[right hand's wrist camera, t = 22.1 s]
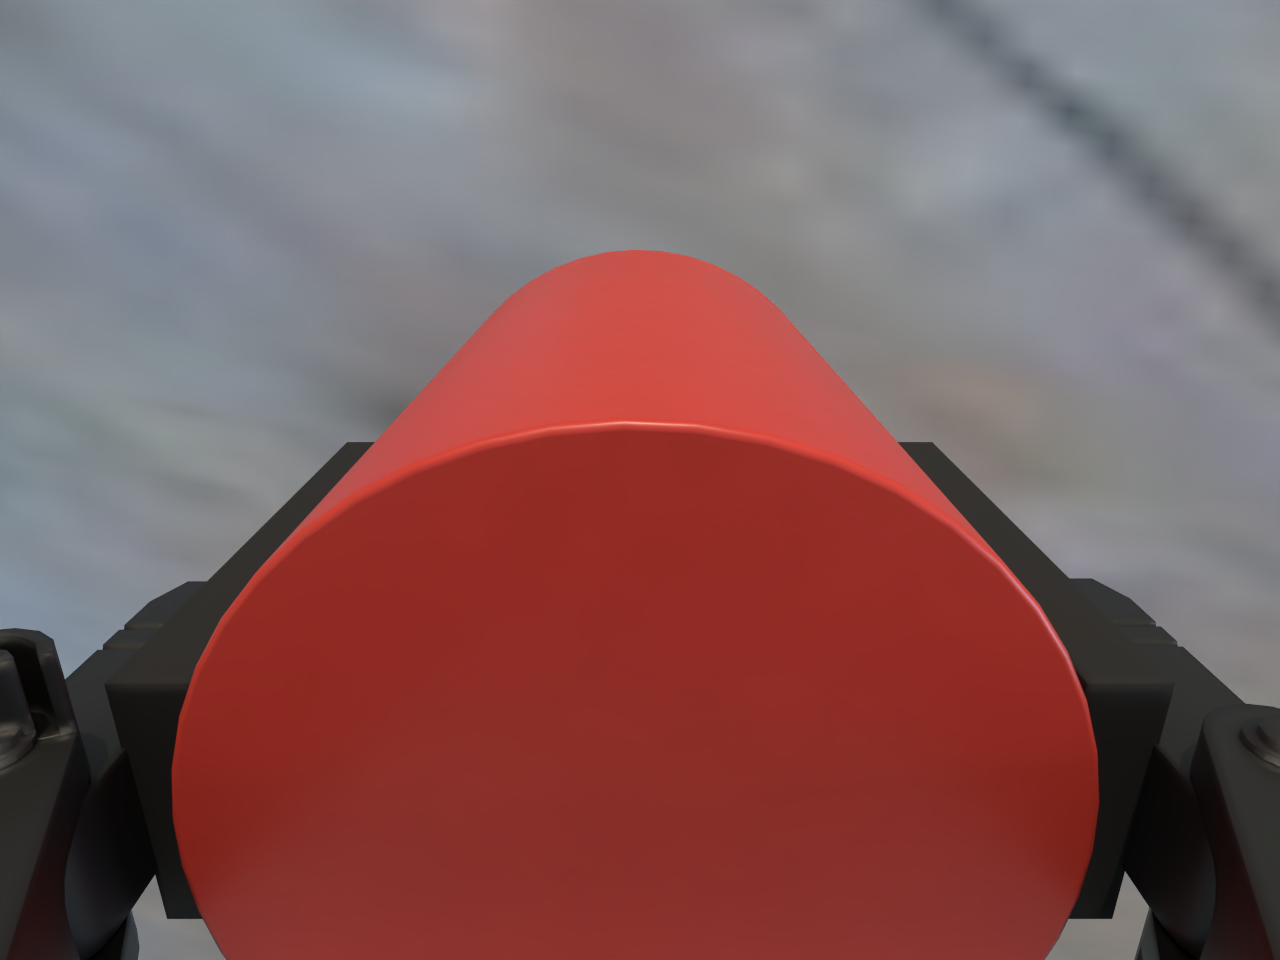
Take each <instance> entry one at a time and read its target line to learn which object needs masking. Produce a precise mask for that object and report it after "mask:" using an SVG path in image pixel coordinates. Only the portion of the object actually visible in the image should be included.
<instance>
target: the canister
mask: <svg viewBox="0 0 1280 960" xmlns="http://www.w3.org/2000/svg"><path fill="white" fill-rule="evenodd" d="M172 806H173V822H174V828H175V833H176V838H177V843H178V848H179V853H180V859H181V864H182V867H183V870H184V873H185V876H186V878H187V881H188V884H189V887H190V889H191V892H192V895H193V898H194V900H195V903H196V906H197V909H198V911H199V913H200V915H201V916H202V918H203V920H204V922H205V924H206V926H207V927H208V929H209V931H210V933H211V935H212V937H213V939H214V940H215V942H216V944H217V946H218V948H219V950H220V951H221V953H222V954H223V956H224V957H225V958H226V960H1045V958H1046V957H1047V955H1048V954H1049V952H1050V951H1051V949H1052V948H1053V946H1054V945H1055V943H1056V942H1057V941H1058V939H1059V937H1060V935H1061V933H1062V931H1063V929H1064V927H1065V924H1066V922H1067V920H1068V918H1069V916H1070V914H1071V912H1072V910H1073V908H1074V906H1075V904H1076V902H1077V900H1078V897H1079V895H1080V891H1081V888H1082V885H1083V882H1084V878H1085V875H1086V872H1087V869H1088V865H1089V862H1090V859H1091V855H1092V852H1093V846H1094V838H1095V831H1096V824H1097V817H1098V809H1099V782H1098V754H1097V747H1096V742H1095V738H1094V733H1093V728H1092V723H1091V718H1090V713H1089V708H1088V704H1087V700H1086V697H1085V695H1084V692H1083V689H1082V687H1081V684H1080V682H1079V679H1078V677H1077V674H1076V672H1075V669H1074V666H1073V664H1072V661H1071V659H1070V656H1069V654H1068V651H1067V650H1066V648H1065V646H1064V645H1063V643H1062V641H1061V640H1060V638H1059V636H1058V635H1057V633H1056V631H1055V630H1054V628H1053V626H1052V625H1051V623H1050V621H1049V620H1048V618H1047V616H1046V615H1045V613H1044V611H1043V610H1042V608H1041V606H1040V605H1039V603H1038V602H1037V601H1036V600H1035V598H1034V597H1033V596H1032V595H1031V594H1030V593H1029V591H1028V590H1027V589H1026V588H1025V587H1024V585H1023V584H1022V583H1021V582H1020V581H1019V580H1018V578H1017V577H1016V576H1015V575H1014V574H1013V572H1012V571H1011V570H1010V569H1009V568H1008V567H1007V565H1006V564H1005V563H1004V562H1003V561H1002V559H1001V558H1000V557H999V556H998V555H997V554H996V553H995V552H994V550H993V549H992V548H991V547H990V546H989V545H988V544H987V542H986V541H985V540H984V539H983V538H982V537H981V536H980V535H979V533H978V532H977V531H976V530H975V529H974V528H973V527H972V526H971V524H970V523H969V522H968V521H967V520H966V519H965V518H964V517H963V515H962V514H961V513H960V512H959V511H958V510H957V509H956V508H955V506H954V505H953V504H952V503H951V502H950V501H949V500H948V499H947V497H946V496H945V495H944V494H943V493H942V492H941V491H940V490H939V488H938V487H937V486H936V485H935V484H934V483H933V482H932V481H931V479H930V478H929V477H928V476H927V475H926V474H925V473H924V472H923V470H922V469H921V468H920V467H919V466H918V465H917V464H916V463H915V461H914V460H913V459H912V458H911V457H910V456H909V455H908V454H907V452H906V451H905V450H904V449H903V448H902V447H901V446H900V444H899V443H898V442H897V441H896V440H895V439H894V438H893V437H892V435H891V434H890V433H889V432H888V431H887V430H886V429H885V428H884V426H883V425H882V424H881V423H880V422H879V421H878V420H877V419H876V417H875V416H874V415H873V414H872V413H871V412H870V411H869V410H868V408H867V407H866V406H865V405H864V404H863V403H862V402H861V401H860V399H859V398H858V397H857V396H856V395H855V394H854V393H853V392H852V390H851V389H850V388H849V387H848V386H847V385H846V384H845V383H844V381H843V380H842V379H841V378H840V377H839V376H838V375H837V374H836V372H835V371H834V370H833V369H832V368H831V367H830V366H829V365H828V363H827V362H826V361H825V360H824V359H823V358H822V357H821V356H820V354H819V353H818V352H817V351H816V350H815V349H814V348H813V346H812V345H811V344H810V343H809V342H808V341H807V340H806V339H805V337H804V336H803V335H802V334H801V333H800V332H799V331H798V330H797V328H796V327H795V326H794V325H793V324H792V323H791V322H790V321H789V319H788V318H787V317H786V316H785V315H784V314H783V313H782V312H781V310H780V309H779V308H778V307H777V306H775V305H774V304H773V303H772V302H771V301H770V300H769V299H768V298H766V297H765V296H764V295H763V294H762V293H761V292H760V291H758V290H757V289H756V288H754V287H753V286H751V285H750V284H748V283H747V282H745V281H744V280H742V279H741V278H739V277H738V276H736V275H734V274H732V273H730V272H727V271H725V270H723V269H721V268H719V267H717V266H715V265H713V264H710V263H707V262H704V261H701V260H698V259H695V258H692V257H689V256H684V255H679V254H673V253H668V252H662V251H645V250H628V251H617V252H606V253H602V254H597V255H593V256H589V257H584V258H580V259H577V260H575V261H572V262H569V263H567V264H564V265H561V266H559V267H556V268H554V269H552V270H550V271H548V272H547V273H545V274H543V275H541V276H539V277H537V278H535V279H534V280H532V281H530V282H529V283H528V284H526V285H525V286H524V287H522V288H521V289H520V290H518V291H517V292H515V293H514V294H513V295H511V296H510V297H509V298H508V299H507V300H506V301H505V302H504V303H503V304H502V305H501V306H500V307H499V308H498V309H497V310H496V311H495V312H494V313H493V314H492V315H491V316H490V317H489V318H488V319H487V320H486V321H485V322H484V323H483V325H482V326H481V327H480V328H479V329H478V330H477V331H476V332H475V333H474V334H473V336H472V337H471V338H470V339H469V340H468V341H467V342H466V343H465V344H464V345H463V346H462V348H461V349H460V350H459V351H458V352H457V353H456V354H455V355H454V356H453V357H452V358H451V360H450V361H449V362H448V363H447V364H446V365H445V366H444V367H443V368H442V369H441V371H440V372H439V373H438V374H437V375H436V376H435V377H434V378H433V379H432V380H431V381H430V383H429V384H428V385H427V386H426V387H425V388H424V389H423V390H422V391H421V392H420V393H419V395H418V396H417V397H416V398H415V399H414V400H413V401H412V402H411V403H410V404H409V406H408V407H407V408H406V409H405V410H404V411H403V412H402V413H401V414H400V415H399V416H398V418H397V419H396V420H395V421H394V422H393V423H392V424H391V425H390V426H389V427H388V428H387V430H386V431H385V432H384V433H383V434H382V435H381V436H380V437H379V438H378V439H377V440H376V442H375V443H374V444H373V445H372V446H371V447H370V448H369V449H368V450H367V451H366V453H365V454H364V455H363V456H362V457H361V458H360V459H359V460H358V461H357V462H356V463H355V465H354V466H353V467H352V468H351V469H350V470H349V471H348V472H347V473H346V474H345V475H344V477H343V478H342V479H341V480H340V481H339V482H338V483H337V484H336V485H335V486H334V488H333V489H332V490H331V491H330V492H329V493H328V494H327V495H326V496H325V497H324V498H323V500H322V501H321V502H320V503H319V504H318V505H317V506H316V507H315V508H314V509H313V510H312V512H311V513H310V514H309V515H308V516H307V517H306V518H305V519H304V520H303V521H302V523H301V524H300V525H299V526H298V527H297V528H296V529H295V530H294V531H293V532H292V533H291V535H290V536H289V537H288V538H287V539H286V540H285V541H284V542H283V543H282V544H281V545H280V547H279V548H278V549H277V550H276V551H275V552H274V553H273V554H272V555H271V556H270V558H269V559H268V560H267V561H266V562H265V563H264V564H263V565H262V566H261V567H260V568H259V570H258V571H257V572H256V573H255V574H254V576H253V577H252V578H251V580H250V581H249V582H248V583H247V585H246V586H245V587H244V589H243V590H242V591H241V593H240V594H239V595H238V597H237V598H236V599H235V601H234V602H233V603H232V605H231V606H230V607H229V608H228V610H227V611H226V612H225V614H224V615H223V616H222V618H221V619H220V621H219V623H218V625H217V627H216V629H215V631H214V633H213V635H212V636H211V638H210V640H209V642H208V644H207V646H206V648H205V650H204V652H203V653H202V655H201V657H200V659H199V661H198V663H197V665H196V667H195V670H194V673H193V676H192V679H191V682H190V685H189V688H188V691H187V694H186V697H185V700H184V703H183V707H182V710H181V713H180V716H179V722H178V729H177V736H176V743H175V750H174V756H173V763H172Z"/></svg>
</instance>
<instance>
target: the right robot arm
mask: <svg viewBox="0 0 1280 960" xmlns="http://www.w3.org/2000/svg"><path fill="white" fill-rule="evenodd" d="M374 443H375V442H347V443H346V444H345V445H344V446H343V447H342V448H341V449H340V450H339V451H338V452H337V453H336V454H335V455H334V456H333V457H332V458H331V459H330V460H329V461H328V462H327V463H326V464H325V465H324V466H323V467H322V468H321V469H320V470H319V471H318V472H317V473H316V474H315V475H314V476H313V477H312V478H311V479H310V480H309V481H308V482H307V483H306V484H305V485H304V486H303V487H302V488H301V489H300V490H299V491H298V492H297V493H296V494H295V495H294V496H293V497H292V498H291V499H290V500H289V501H288V502H287V503H286V504H285V505H284V506H283V507H282V508H281V509H280V510H279V511H278V512H277V513H276V514H275V515H274V516H273V517H272V518H271V519H270V520H269V521H268V522H267V523H266V524H265V525H264V526H263V527H262V528H261V529H260V530H259V531H258V532H257V533H256V534H255V535H254V536H253V537H252V538H251V539H250V540H249V541H247V542H246V543H245V544H244V545H243V546H242V547H241V548H240V549H239V550H238V551H237V552H236V553H235V554H234V555H233V556H232V557H231V558H230V559H229V560H228V561H227V562H226V563H225V564H224V565H223V566H222V567H221V568H220V569H219V570H218V571H217V572H216V573H215V574H214V575H213V576H212V577H211V578H210V579H209V580H208V581H207V582H186V583H184V584H183V585H181V586H179V587H177V588H175V589H173V590H171V591H169V592H167V593H165V594H164V595H162V596H160V597H158V598H156V599H154V600H152V601H150V602H149V603H148V604H147V605H146V606H145V607H144V608H143V609H142V610H140V611H139V612H138V613H137V614H136V615H135V616H134V617H133V618H132V619H131V620H130V621H128V622H127V623H126V624H125V625H124V626H125V628H124V630H119V631H118V632H116V633H115V634H114V635H113V636H112V637H111V638H110V639H109V640H108V641H107V642H106V643H105V644H103V650H97V651H96V652H95V653H94V654H93V655H91V656H90V657H89V658H88V659H87V660H86V661H85V662H84V663H83V664H82V665H81V666H79V667H78V668H77V669H76V670H75V671H74V672H73V673H72V674H71V675H70V676H69V677H68V678H66V679H64V675H63V672H62V668H61V665H60V661H59V658H58V654H57V651H56V647H55V644H54V640H53V639H52V638H50V637H48V636H47V635H45V634H44V633H42V632H40V631H35V630H26V629H18V628H12V629H2V630H0V960H138V954H139V941H138V934H137V928H136V925H135V921H134V918H133V914H132V911H131V909H132V908H133V906H134V905H135V903H136V902H137V900H138V899H139V897H140V896H141V894H142V893H143V891H144V890H145V888H146V887H147V886H148V884H149V883H150V881H151V880H152V878H153V877H154V875H156V879H157V882H158V886H159V890H160V893H161V897H162V901H163V905H164V908H165V912H166V916H167V919H203V918H202V916H201V915H200V913H199V911H198V909H197V906H196V903H195V900H194V898H193V895H192V892H191V889H190V887H189V884H188V881H187V878H186V876H185V873H184V870H183V867H182V864H181V859H180V853H179V848H178V843H177V838H176V833H175V828H174V822H173V806H172V763H173V756H174V750H175V743H176V736H177V729H178V722H179V716H180V713H181V710H182V707H183V703H184V700H185V697H186V694H187V691H188V688H189V685H190V682H191V679H192V676H193V673H194V670H195V667H196V665H197V663H198V661H199V659H200V657H201V655H202V653H203V652H204V650H205V648H206V646H207V644H208V642H209V640H210V638H211V636H212V635H213V633H214V631H215V629H216V627H217V625H218V623H219V621H220V619H221V618H222V616H223V615H224V614H225V612H226V611H227V610H228V608H229V607H230V606H231V605H232V603H233V602H234V601H235V599H236V598H237V597H238V595H239V594H240V593H241V591H242V590H243V589H244V587H245V586H246V585H247V583H248V582H249V581H250V580H251V578H252V577H253V576H254V574H255V573H256V572H257V571H258V570H259V568H260V567H261V566H262V565H263V564H264V563H265V562H266V561H267V560H268V559H269V558H270V556H271V555H272V554H273V553H274V552H275V551H276V550H277V549H278V548H279V547H280V545H281V544H282V543H283V542H284V541H285V540H286V539H287V538H288V537H289V536H290V535H291V533H292V532H293V531H294V530H295V529H296V528H297V527H298V526H299V525H300V524H301V523H302V521H303V520H304V519H305V518H306V517H307V516H308V515H309V514H310V513H311V512H312V510H313V509H314V508H315V507H316V506H317V505H318V504H319V503H320V502H321V501H322V500H323V498H324V497H325V496H326V495H327V494H328V493H329V492H330V491H331V490H332V489H333V488H334V486H335V485H336V484H337V483H338V482H339V481H340V480H341V479H342V478H343V477H344V475H345V474H346V473H347V472H348V471H349V470H350V469H351V468H352V467H353V466H354V465H355V463H356V462H357V461H358V460H359V459H360V458H361V457H362V456H363V455H364V454H365V453H366V451H367V450H368V449H369V448H370V447H371V446H372V445H373V444H374ZM898 443H899V444H900V446H901V447H902V448H903V449H904V450H905V451H906V452H907V454H908V455H909V456H910V457H911V458H912V459H913V460H914V461H915V463H916V464H917V465H918V466H919V467H920V468H921V469H922V470H923V472H924V473H925V474H926V475H927V476H928V477H929V478H930V479H931V481H932V482H933V483H934V484H935V485H936V486H937V487H938V488H939V490H940V491H941V492H942V493H943V494H944V495H945V496H946V497H947V499H948V500H949V501H950V502H951V503H952V504H953V505H954V506H955V508H956V509H957V510H958V511H959V512H960V513H961V514H962V515H963V517H964V518H965V519H966V520H967V521H968V522H969V523H970V524H971V526H972V527H973V528H974V529H975V530H976V531H977V532H978V533H979V535H980V536H981V537H982V538H983V539H984V540H985V541H986V542H987V544H988V545H989V546H990V547H991V548H992V549H993V550H994V552H995V553H996V554H997V555H998V556H999V557H1000V558H1001V559H1002V561H1003V562H1004V563H1005V564H1006V565H1007V567H1008V568H1009V569H1010V570H1011V571H1012V572H1013V574H1014V575H1015V576H1016V577H1017V578H1018V580H1019V581H1020V582H1021V583H1022V584H1023V585H1024V587H1025V588H1026V589H1027V590H1028V591H1029V593H1030V594H1031V595H1032V596H1033V597H1034V598H1035V600H1036V601H1037V602H1038V603H1039V605H1040V606H1041V608H1042V610H1043V611H1044V613H1045V615H1046V616H1047V618H1048V620H1049V621H1050V623H1051V625H1052V626H1053V628H1054V630H1055V631H1056V633H1057V635H1058V636H1059V638H1060V640H1061V641H1062V643H1063V645H1064V646H1065V648H1066V650H1067V651H1068V654H1069V656H1070V659H1071V661H1072V664H1073V666H1074V669H1075V672H1076V674H1077V677H1078V679H1079V682H1080V684H1081V687H1082V689H1083V692H1084V695H1085V697H1086V700H1087V704H1088V708H1089V713H1090V718H1091V723H1092V728H1093V733H1094V738H1095V742H1096V747H1097V754H1098V782H1099V809H1098V817H1097V824H1096V831H1095V838H1094V846H1093V852H1092V855H1091V859H1090V862H1089V865H1088V869H1087V872H1086V875H1085V878H1084V882H1083V885H1082V888H1081V891H1080V895H1079V897H1078V900H1077V902H1076V904H1075V906H1074V908H1073V910H1072V912H1071V914H1070V916H1069V918H1068V919H1112V917H1113V913H1114V910H1115V906H1116V902H1117V898H1118V895H1119V891H1120V887H1121V884H1122V880H1123V876H1124V872H1125V871H1126V873H1127V874H1128V876H1129V877H1130V879H1131V880H1132V882H1133V883H1134V885H1135V886H1136V888H1137V889H1138V891H1139V892H1140V894H1141V895H1142V897H1143V898H1144V900H1145V901H1146V902H1147V904H1148V905H1149V911H1148V914H1147V918H1146V921H1145V925H1144V928H1143V932H1142V935H1141V939H1140V942H1139V946H1138V949H1137V953H1136V956H1135V959H1134V960H1280V709H1279V708H1275V707H1270V706H1261V705H1252V704H1245V703H1244V702H1243V701H1242V700H1241V699H1240V698H1238V697H1237V696H1236V695H1235V694H1234V693H1233V692H1232V691H1231V690H1230V689H1229V688H1228V687H1226V686H1225V685H1224V684H1223V683H1222V682H1221V681H1220V680H1219V679H1218V678H1217V677H1215V676H1214V675H1213V674H1212V673H1211V672H1210V671H1209V670H1208V669H1207V668H1206V667H1204V666H1203V665H1202V664H1201V663H1200V662H1199V661H1198V660H1197V659H1196V658H1195V657H1194V656H1192V655H1191V654H1190V653H1189V652H1188V651H1187V650H1186V649H1185V648H1184V647H1178V646H1177V641H1176V640H1175V639H1174V638H1173V637H1172V636H1170V635H1169V634H1168V633H1167V632H1166V631H1165V630H1164V629H1163V628H1162V627H1156V622H1155V621H1154V620H1153V619H1152V618H1151V617H1150V616H1149V615H1147V614H1146V613H1145V612H1144V611H1143V610H1142V609H1141V608H1140V607H1139V606H1138V605H1136V604H1135V603H1134V602H1133V601H1132V600H1131V599H1130V598H1128V597H1126V596H1124V595H1122V594H1120V593H1118V592H1116V591H1115V590H1113V589H1111V588H1109V587H1107V586H1105V585H1103V584H1101V583H1099V582H1097V581H1095V580H1094V579H1069V578H1068V577H1067V576H1066V575H1065V574H1064V573H1063V572H1062V571H1061V570H1060V569H1059V568H1058V567H1057V566H1056V565H1055V564H1054V563H1053V562H1052V561H1051V560H1050V559H1049V558H1048V557H1047V556H1046V555H1045V554H1044V553H1043V552H1042V551H1041V550H1040V549H1039V548H1038V547H1037V546H1036V545H1035V544H1034V543H1033V542H1032V541H1031V540H1030V539H1029V538H1028V537H1027V536H1026V535H1025V534H1024V533H1023V532H1022V531H1021V530H1020V529H1019V528H1018V527H1017V526H1016V525H1015V524H1014V523H1013V522H1012V521H1011V520H1010V519H1009V518H1008V517H1007V516H1006V515H1005V514H1004V513H1003V512H1002V511H1001V510H1000V509H999V508H998V507H997V506H996V505H995V504H994V503H993V502H992V501H991V500H990V499H989V498H988V497H987V496H986V495H985V494H984V493H983V492H982V491H981V490H980V489H979V488H978V487H977V486H976V485H975V484H974V483H973V482H972V481H971V480H970V479H969V478H968V477H967V476H966V475H965V474H964V473H963V472H962V471H961V470H960V469H958V468H957V467H956V466H955V465H954V464H953V463H952V462H951V461H950V460H949V459H948V458H947V457H946V456H945V455H944V454H943V453H942V452H941V451H940V450H939V449H938V448H937V447H936V446H935V445H934V444H933V443H932V442H898Z"/></svg>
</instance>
